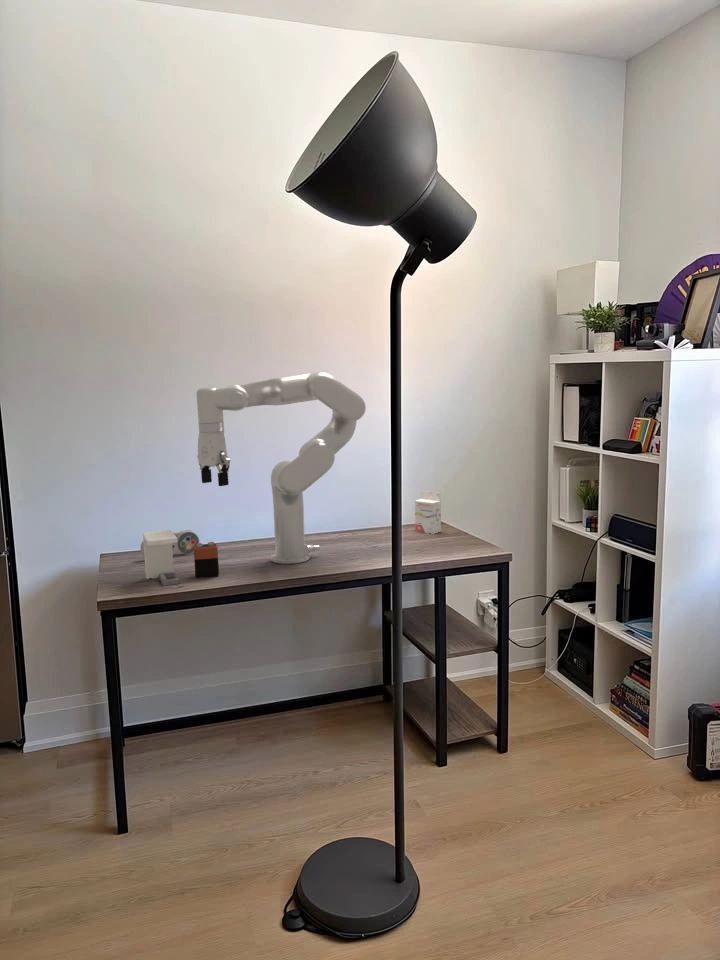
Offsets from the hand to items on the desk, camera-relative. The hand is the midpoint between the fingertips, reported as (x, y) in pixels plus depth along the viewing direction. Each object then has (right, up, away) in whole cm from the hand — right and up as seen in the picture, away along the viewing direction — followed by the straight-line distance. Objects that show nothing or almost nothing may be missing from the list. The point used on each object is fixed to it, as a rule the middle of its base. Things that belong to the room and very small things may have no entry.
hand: (215, 484), depth 226 cm
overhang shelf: (-13, -28, -11) cm, 33 cm away
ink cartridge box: (+70, -18, +44) cm, 84 cm away
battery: (-1, -28, -6) cm, 28 cm away
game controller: (-18, -24, +18) cm, 35 cm away
